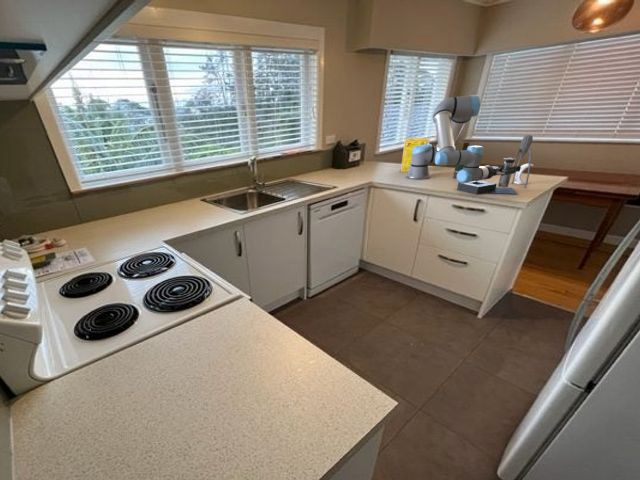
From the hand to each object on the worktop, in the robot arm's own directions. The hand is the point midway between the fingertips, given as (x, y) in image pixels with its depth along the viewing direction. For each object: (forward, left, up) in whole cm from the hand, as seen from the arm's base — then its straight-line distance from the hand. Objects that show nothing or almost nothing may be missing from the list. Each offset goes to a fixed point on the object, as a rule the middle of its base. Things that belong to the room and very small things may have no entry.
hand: (514, 168), depth 175 cm
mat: (+4, -4, -13) cm, 14 cm away
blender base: (+4, -17, -13) cm, 22 cm away
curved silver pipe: (-18, +9, -13) cm, 24 cm away
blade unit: (+4, -4, -10) cm, 11 cm away
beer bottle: (-33, -23, -13) cm, 43 cm away
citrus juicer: (-10, +3, -13) cm, 17 cm away
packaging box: (-60, -54, -13) cm, 82 cm away
